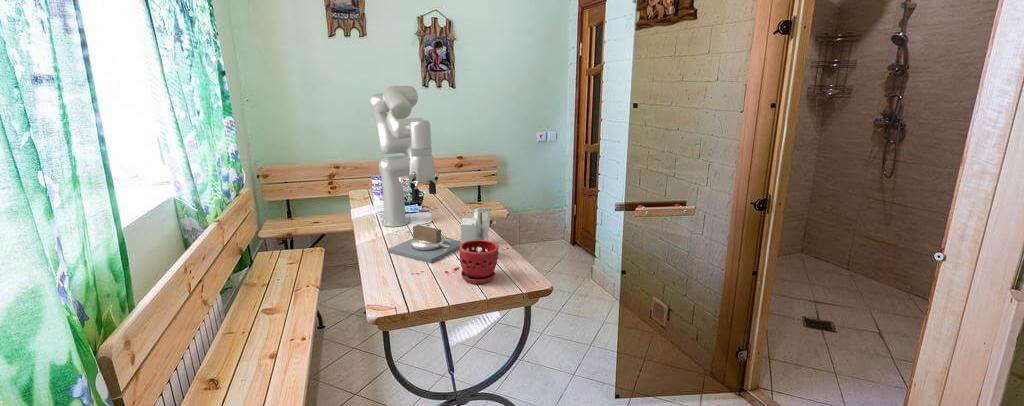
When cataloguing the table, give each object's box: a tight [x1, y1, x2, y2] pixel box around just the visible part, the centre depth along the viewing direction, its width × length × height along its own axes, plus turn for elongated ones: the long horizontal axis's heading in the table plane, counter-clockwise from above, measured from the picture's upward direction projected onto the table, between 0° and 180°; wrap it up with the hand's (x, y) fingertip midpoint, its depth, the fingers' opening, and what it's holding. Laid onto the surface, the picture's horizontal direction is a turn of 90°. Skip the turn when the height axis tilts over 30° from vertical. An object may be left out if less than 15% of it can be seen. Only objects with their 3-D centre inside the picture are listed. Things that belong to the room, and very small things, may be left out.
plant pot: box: [458, 240, 499, 284], centre depth 160 cm, size 13×13×12 cm
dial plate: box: [387, 237, 461, 264], centre depth 189 cm, size 22×22×2 cm
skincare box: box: [460, 217, 479, 260], centre depth 178 cm, size 8×6×15 cm
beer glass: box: [472, 207, 491, 241], centre depth 192 cm, size 7×7×15 cm
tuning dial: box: [411, 224, 450, 251], centre depth 187 cm, size 18×13×7 cm
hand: (424, 196), depth 183 cm, fingers open, 9 cm apart
